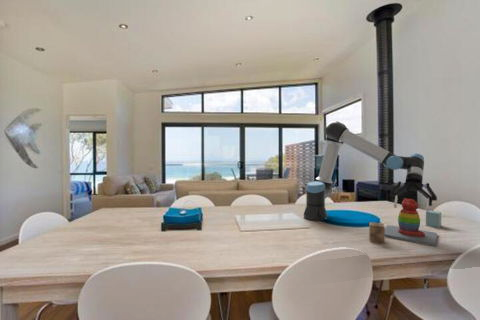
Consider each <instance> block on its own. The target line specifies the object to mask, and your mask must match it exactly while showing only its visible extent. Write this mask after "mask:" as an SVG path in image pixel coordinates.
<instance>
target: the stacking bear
mask: <svg viewBox="0 0 480 320" xmlns="http://www.w3.org/2000/svg"><path fill="white" fill-rule="evenodd" d="M419 205H420V204H418V202H417V201H416V200H415V199H412V198H407V197H404V198H403V200H402V202H401V207H402V209H401V210H400V211H399V214H398V216H397V222H398V227H399V230H398V232H399V233H401V234H404V235H409V236H418V237H424V236H425V233H423V232H422V231H423V230H422V231H419V230H420V229H419V228H420V226H421V218H420V215H419V212H418V211H417V210H418V208H419Z"/></svg>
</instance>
